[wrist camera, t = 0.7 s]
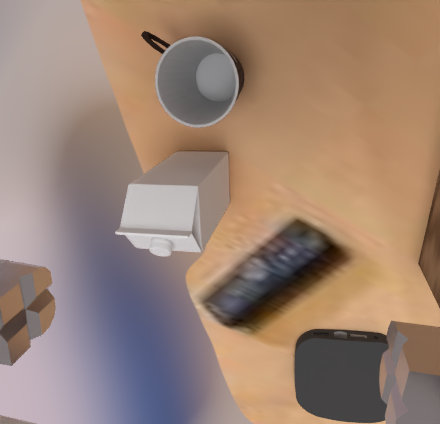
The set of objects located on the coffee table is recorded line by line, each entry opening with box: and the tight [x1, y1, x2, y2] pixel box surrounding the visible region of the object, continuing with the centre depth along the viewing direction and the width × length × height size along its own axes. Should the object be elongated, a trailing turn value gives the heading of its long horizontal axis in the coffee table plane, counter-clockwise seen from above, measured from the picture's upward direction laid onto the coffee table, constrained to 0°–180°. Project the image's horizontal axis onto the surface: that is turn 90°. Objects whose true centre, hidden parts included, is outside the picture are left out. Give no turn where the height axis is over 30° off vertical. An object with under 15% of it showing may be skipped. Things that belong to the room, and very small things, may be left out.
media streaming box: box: [295, 329, 389, 423], centre depth 60 cm, size 15×15×3 cm
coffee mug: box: [141, 31, 244, 128], centre depth 45 cm, size 12×9×10 cm
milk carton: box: [115, 151, 230, 256], centre depth 46 cm, size 7×7×19 cm
